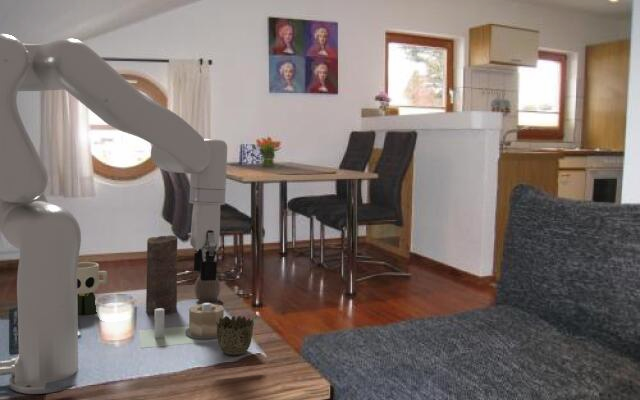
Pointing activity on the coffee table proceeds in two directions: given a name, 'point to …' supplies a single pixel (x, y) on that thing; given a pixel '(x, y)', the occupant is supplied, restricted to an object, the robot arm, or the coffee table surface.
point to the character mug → (88, 286)
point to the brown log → (161, 274)
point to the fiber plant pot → (234, 335)
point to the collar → (204, 320)
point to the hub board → (171, 333)
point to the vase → (207, 290)
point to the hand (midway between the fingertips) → (204, 275)
